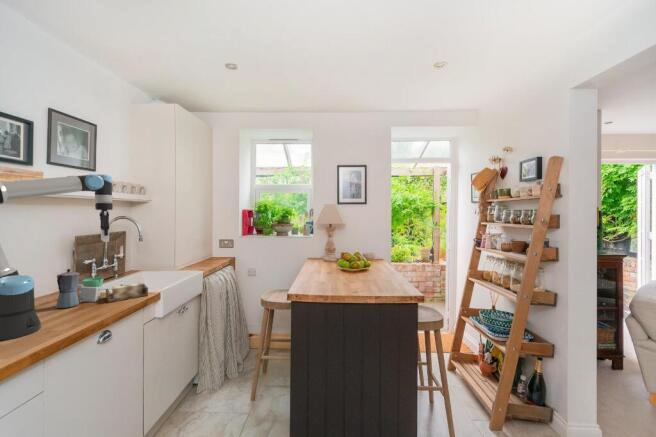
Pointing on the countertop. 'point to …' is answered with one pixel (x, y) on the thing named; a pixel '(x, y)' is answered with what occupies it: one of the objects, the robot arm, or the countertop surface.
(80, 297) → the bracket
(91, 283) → the green lidded container
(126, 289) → the tan rectangular block
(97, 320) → the countertop surface
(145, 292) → the cradle
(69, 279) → the moka pot
